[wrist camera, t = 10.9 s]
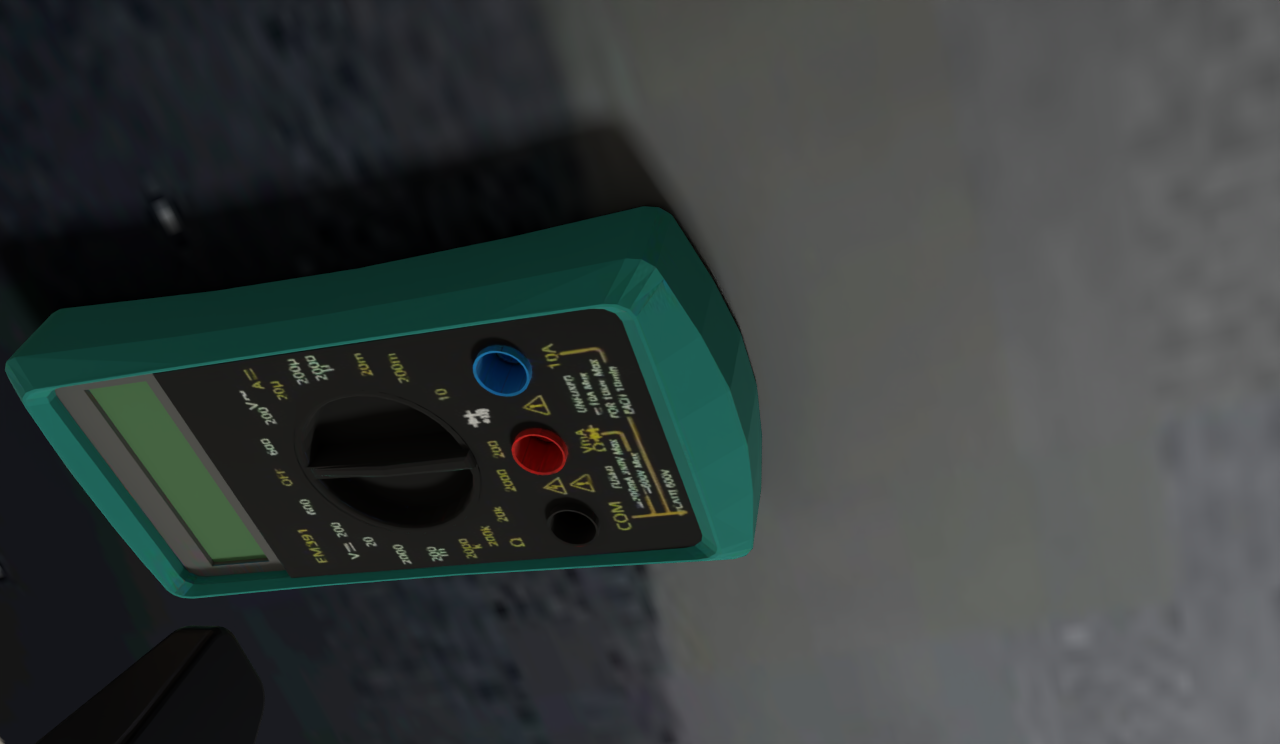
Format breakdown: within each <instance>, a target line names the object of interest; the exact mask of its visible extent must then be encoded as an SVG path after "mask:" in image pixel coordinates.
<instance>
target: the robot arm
mask: <svg viewBox="0 0 1280 744" xmlns="http://www.w3.org/2000/svg"><path fill="white" fill-rule="evenodd" d="M264 704H265V694H264V688H263V684H262V682H261V679H260V678H259V676H258V674H257V673H256V671H255V669H254V668H253V666H252V665H251V663H250V661H249V660H248V658H247V656H246V655H245V653H244V651H243V650H242V648H241V646H240V645H239V643H238V641H237V640H236V638H235V636H234V635H233V634H232V633H231V632H230V631H229V630H228V629H226V628H224V627H219V626H186V627H182V628H180V629H178V630H176V631H174V632H173V633H171V634H170V635H169V636H167V637H166V638H165V639H164V640H162V641H161V642H160V643H159V644H158V645H156V646H155V647H154V648H153V649H151V650H150V651H149V652H148V653H146V654H145V655H144V656H143V657H141V658H140V659H139V660H138V661H136V662H135V663H134V664H133V665H132V666H130V667H129V668H128V669H127V670H125V671H124V672H123V673H122V674H120V675H119V676H118V677H117V678H115V679H114V680H113V681H112V682H111V683H109V684H108V685H107V686H106V687H104V688H103V689H102V690H101V691H99V692H98V693H97V694H96V695H94V696H93V697H92V698H91V699H89V700H88V701H87V702H86V703H85V704H83V705H82V706H81V707H80V708H78V709H77V710H76V711H75V712H73V713H72V714H71V715H70V716H68V717H67V718H66V719H65V720H64V721H62V722H61V723H60V724H59V725H57V726H56V727H55V728H54V729H52V730H51V731H50V732H49V733H47V734H46V735H45V736H44V737H42V738H41V739H40V740H39V741H38V742H36V743H35V744H255V742H256V738H257V734H258V731H259V727H260V723H261V720H262V716H263V711H264Z"/></svg>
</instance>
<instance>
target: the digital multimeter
mask: <svg viewBox="0 0 1280 744" xmlns="http://www.w3.org/2000/svg"><path fill="white" fill-rule="evenodd" d="M584 309H587V310H584ZM578 310H580V311H578ZM571 311H573V312H571ZM564 312H567V313H564ZM557 313H560V314H557ZM550 314H553V315H550ZM495 322H496V323H495ZM488 323H493V324H488ZM481 324H486V325H481ZM474 325H479V326H474ZM467 326H472V327H467ZM461 327H466V328H461ZM454 328H459V329H454ZM447 329H452V330H447ZM440 330H446V331H440ZM433 331H439V332H433ZM426 332H432V333H426ZM420 333H425V334H420ZM413 334H419V335H413ZM406 335H412V336H406ZM399 336H405V337H399ZM392 337H398V338H392ZM386 338H392V339H386ZM379 339H385V340H379ZM372 340H378V341H372ZM365 341H372V342H365ZM358 342H365V343H358ZM352 343H358V344H352ZM345 344H351V345H345ZM338 345H345V346H338ZM331 346H338V347H331ZM324 347H331V348H324ZM318 348H324V349H318ZM311 349H318V350H311ZM304 350H311V351H304ZM298 351H304V352H298ZM291 352H298V353H291ZM284 353H291V354H284ZM278 354H284V355H278ZM271 355H277V356H271ZM264 356H271V357H264ZM258 357H264V358H258ZM251 358H257V359H251ZM244 359H250V360H244ZM238 360H244V361H238ZM231 361H237V362H231ZM224 362H230V363H224ZM218 363H224V364H218ZM211 364H217V365H211ZM205 365H210V366H205ZM198 366H203V367H198ZM191 367H197V368H191ZM185 368H190V369H185ZM178 369H183V370H178ZM172 370H177V371H172ZM5 371H6V373H7V376H8V378H9V380H10V382H11V383H12V385H13V387H14V389H15V390H16V392H17V394H18V396H19V397H20V399H21V401H22V403H23V404H24V406H25V408H26V409H27V410H28V412H29V413H30V415H31V416H32V418H33V419H34V421H35V422H36V424H37V425H38V426H39V428H40V429H41V431H42V432H43V434H44V435H45V437H46V438H47V440H48V441H49V442H50V444H51V445H52V447H53V448H54V449H55V451H56V452H57V454H58V455H59V456H60V458H61V459H62V461H63V462H64V464H65V465H66V466H67V468H68V469H69V471H70V472H71V473H72V475H73V476H74V477H75V478H76V480H77V481H78V482H79V484H80V485H81V486H82V487H83V489H84V490H85V491H86V493H87V494H88V495H89V496H90V498H91V499H92V500H93V502H94V503H95V504H96V505H97V507H98V508H99V509H100V511H101V512H102V513H103V514H104V516H105V517H106V518H107V520H108V521H109V522H110V523H111V525H112V526H113V527H114V528H115V530H116V531H117V532H118V533H119V534H120V536H121V537H122V538H123V539H124V540H125V542H126V543H127V544H128V545H129V546H130V548H131V549H132V550H133V551H134V553H135V554H136V555H137V556H138V557H139V559H140V560H141V561H142V562H143V563H144V564H145V566H146V567H147V568H148V569H149V570H150V571H151V572H152V574H153V575H154V576H155V577H156V578H157V579H158V580H159V582H160V583H161V584H162V585H163V586H164V587H165V588H166V589H167V590H168V591H169V592H170V593H172V594H173V595H176V596H179V597H182V598H203V597H213V596H223V595H233V594H243V593H253V592H264V591H275V590H285V589H296V588H307V587H317V586H328V585H341V584H353V583H366V582H378V581H391V580H403V579H416V578H428V577H441V576H453V575H469V574H486V573H503V572H520V571H537V570H554V569H570V568H587V567H604V566H622V565H640V564H658V563H676V562H694V561H711V560H726V559H736V558H739V557H743V556H746V555H747V554H748V553H749V552H750V551H751V550H752V549H753V542H754V535H755V528H756V521H757V514H758V507H759V500H760V493H761V465H762V431H761V421H760V412H759V402H758V392H757V384H756V381H755V378H754V374H753V371H752V368H751V365H750V361H749V358H748V355H747V352H746V348H745V345H744V342H743V338H742V335H741V333H740V331H739V329H738V327H737V325H736V323H735V321H734V319H733V317H732V315H731V313H730V311H729V309H728V307H727V305H726V304H725V302H724V300H723V298H722V296H721V294H720V292H719V290H718V288H717V286H716V284H715V282H714V280H713V279H712V277H711V276H710V274H709V272H708V271H707V269H706V268H705V266H704V264H703V263H702V261H701V260H700V258H699V257H698V255H697V253H696V252H695V250H694V249H693V247H692V245H691V244H690V242H689V241H688V239H687V238H686V236H685V234H684V233H683V231H682V230H681V228H680V226H679V225H678V223H677V222H676V220H675V219H674V217H673V216H672V215H671V214H670V213H668V212H666V211H664V210H663V209H661V208H659V207H647V206H643V207H638V208H634V209H630V210H625V211H621V212H617V213H612V214H608V215H604V216H599V217H595V218H591V219H587V220H582V221H578V222H574V223H569V224H565V225H561V226H556V227H552V228H548V229H543V230H539V231H535V232H531V233H526V234H522V235H518V236H513V237H509V238H504V239H499V240H494V241H489V242H485V243H480V244H475V245H470V246H465V247H460V248H455V249H450V250H446V251H441V252H436V253H431V254H426V255H421V256H416V257H411V258H407V259H402V260H397V261H392V262H387V263H382V264H377V265H373V266H368V267H363V268H358V269H352V270H345V271H339V272H333V273H326V274H320V275H313V276H307V277H301V278H294V279H288V280H282V281H275V282H269V283H262V284H256V285H250V286H243V287H237V288H231V289H224V290H218V291H210V292H201V293H193V294H184V295H175V296H167V297H158V298H150V299H141V300H133V301H124V302H115V303H107V304H98V305H90V306H81V307H73V308H64V309H59V310H57V311H56V312H54V313H52V314H51V315H50V316H49V317H48V318H47V320H46V321H45V322H44V323H43V324H42V325H41V326H40V327H39V328H38V329H37V330H36V331H35V332H34V333H33V334H32V335H31V336H30V337H29V338H28V339H27V341H26V342H25V343H24V344H23V345H22V346H21V347H20V348H19V349H18V350H17V351H16V352H15V353H14V354H13V355H12V356H11V357H10V358H9V359H8V360H7V362H6V367H5ZM168 371H170V372H168ZM315 401H316V402H315ZM297 421H298V422H297ZM294 431H295V433H294ZM294 446H295V449H294ZM296 456H297V457H296ZM297 459H298V461H299V463H298V461H297ZM299 464H300V465H299ZM300 466H301V467H300ZM301 468H302V469H301ZM302 470H303V471H302ZM479 470H480V473H479ZM303 472H304V473H305V475H306V476H307V477H306V476H305V475H304V473H303ZM480 476H481V477H480ZM307 478H308V479H307ZM310 482H311V483H312V484H311V483H310ZM313 486H314V487H315V488H316V489H317V490H318V491H319V492H318V491H317V490H316V489H315V488H314V487H313ZM322 495H323V496H324V497H325V498H326V499H327V500H329V501H330V502H331V503H330V502H329V501H327V500H326V499H325V498H324V497H323V496H322ZM479 495H480V497H479ZM334 505H335V506H334ZM337 507H338V508H339V509H338V508H337ZM474 507H475V508H474ZM340 509H341V510H342V511H341V510H340ZM343 511H344V512H343ZM346 513H347V514H346ZM355 518H356V519H355ZM357 519H358V520H357Z"/></svg>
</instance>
